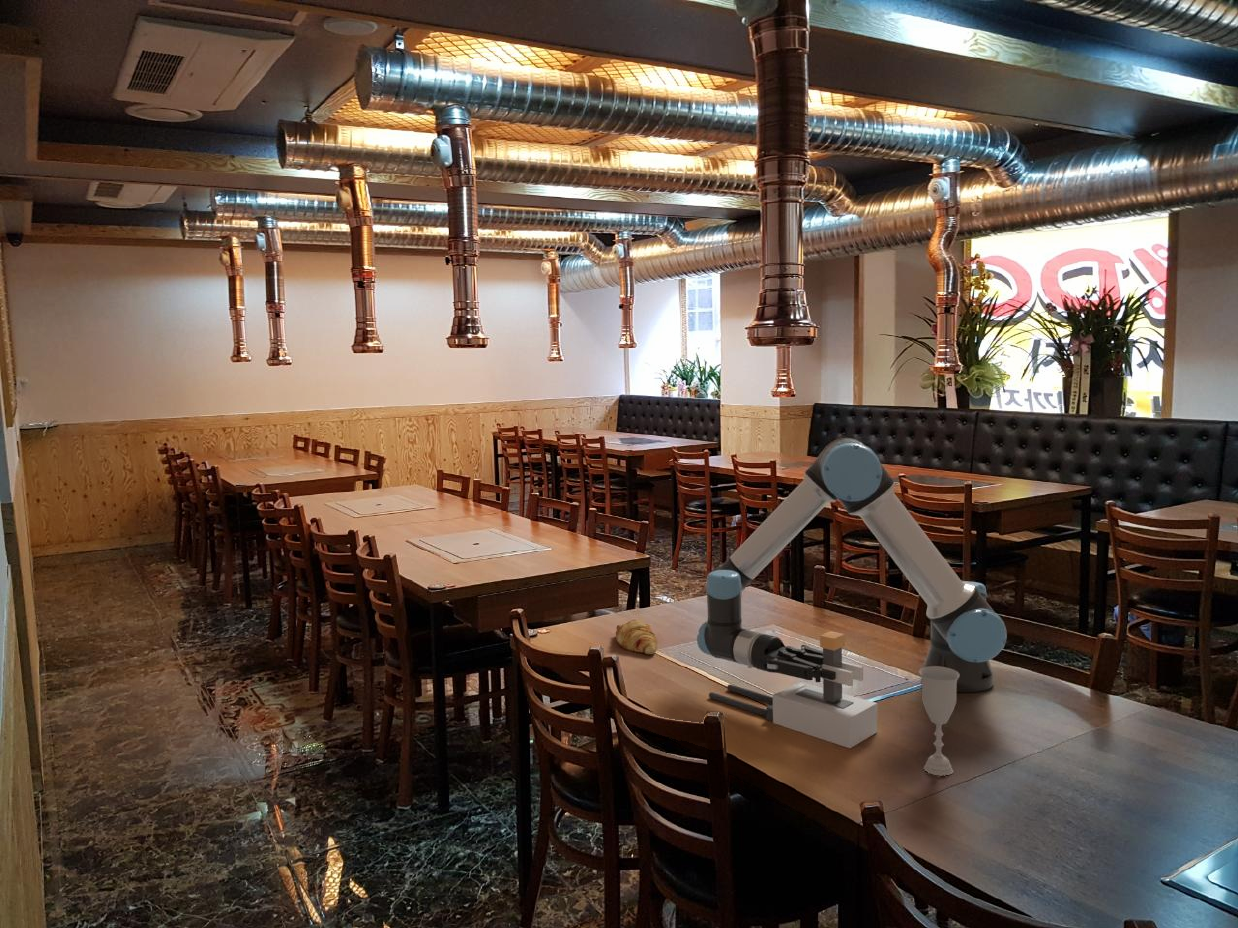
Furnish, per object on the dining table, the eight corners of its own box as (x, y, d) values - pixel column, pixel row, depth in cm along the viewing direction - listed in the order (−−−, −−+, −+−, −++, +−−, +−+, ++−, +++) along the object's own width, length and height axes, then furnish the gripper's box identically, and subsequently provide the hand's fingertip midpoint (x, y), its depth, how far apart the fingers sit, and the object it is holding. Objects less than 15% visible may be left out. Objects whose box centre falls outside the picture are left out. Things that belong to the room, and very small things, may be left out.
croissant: (664, 668, 225) (676, 639, 226) (632, 656, 221) (645, 627, 221) (627, 644, 244) (639, 617, 245) (598, 633, 240) (609, 606, 240)
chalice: (962, 780, 153) (963, 681, 151) (921, 778, 154) (921, 679, 152) (954, 761, 160) (955, 666, 158) (915, 759, 161) (916, 665, 159)
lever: (820, 699, 175) (820, 635, 173) (831, 694, 177) (830, 631, 176) (834, 703, 172) (833, 638, 171) (844, 698, 175) (844, 634, 173)
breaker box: (773, 722, 180) (772, 693, 179) (801, 708, 187) (801, 680, 186) (850, 748, 167) (849, 717, 166) (877, 732, 174) (877, 702, 173)
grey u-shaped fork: (705, 699, 194) (705, 687, 194) (731, 688, 200) (731, 677, 200) (774, 722, 180) (774, 709, 180) (799, 709, 186) (799, 697, 186)
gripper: (782, 658, 193) (878, 683, 176) (736, 677, 182) (834, 706, 165) (782, 625, 192) (878, 647, 175) (735, 643, 181) (833, 668, 164)
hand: (856, 676), depth 170 cm, fingers closed on lever, 3 cm apart
